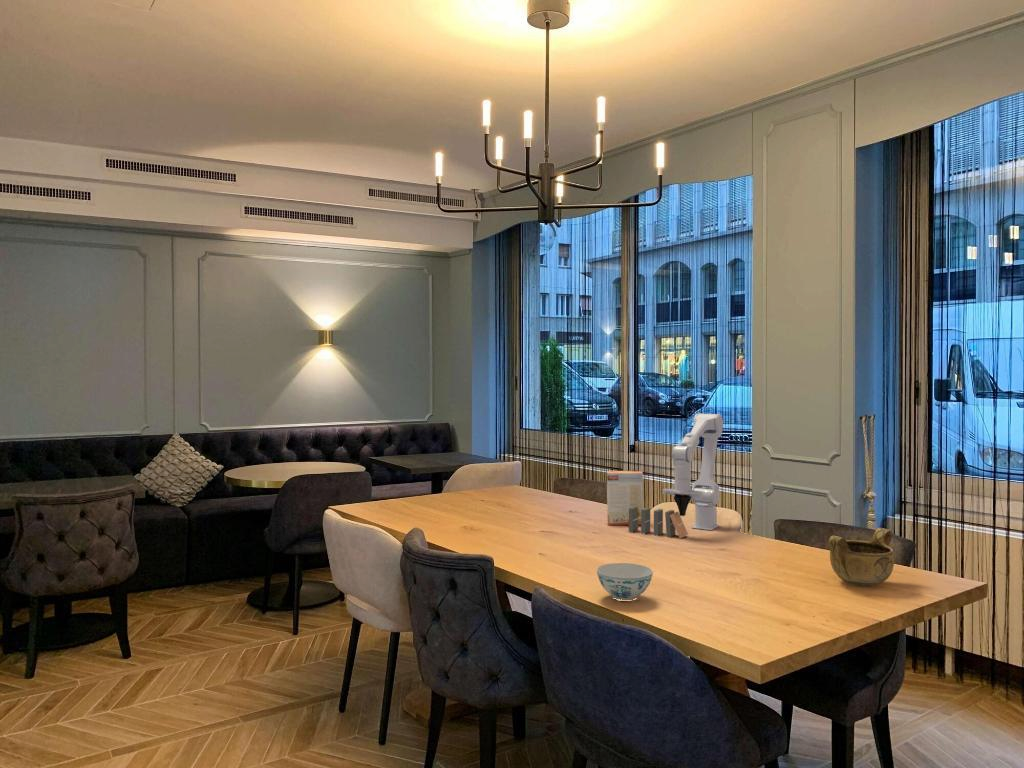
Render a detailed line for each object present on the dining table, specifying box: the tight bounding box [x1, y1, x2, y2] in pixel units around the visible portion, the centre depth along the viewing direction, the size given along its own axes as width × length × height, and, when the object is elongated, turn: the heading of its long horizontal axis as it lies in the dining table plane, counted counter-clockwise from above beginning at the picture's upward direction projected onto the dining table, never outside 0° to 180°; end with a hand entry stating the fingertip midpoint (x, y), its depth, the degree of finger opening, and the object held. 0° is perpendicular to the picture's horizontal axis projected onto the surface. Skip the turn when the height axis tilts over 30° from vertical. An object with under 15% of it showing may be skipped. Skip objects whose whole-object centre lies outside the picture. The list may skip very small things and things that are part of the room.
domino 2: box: [653, 508, 664, 536], centre depth 286 cm, size 5×2×9 cm, turn 147°
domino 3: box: [664, 509, 677, 538], centre depth 284 cm, size 5×2×9 cm, turn 147°
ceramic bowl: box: [828, 527, 895, 588], centre depth 220 cm, size 22×17×15 cm
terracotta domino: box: [670, 511, 689, 539], centre depth 282 cm, size 5×2×9 cm, turn 147°
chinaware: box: [596, 562, 654, 600], centre depth 208 cm, size 15×15×8 cm
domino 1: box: [640, 507, 651, 534], centre depth 289 cm, size 5×2×9 cm, turn 147°
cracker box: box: [606, 470, 644, 526], centre depth 304 cm, size 14×6×21 cm, turn 84°
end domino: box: [628, 506, 639, 533], centre depth 292 cm, size 5×2×9 cm, turn 147°
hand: (682, 515), depth 281 cm, fingers closed
